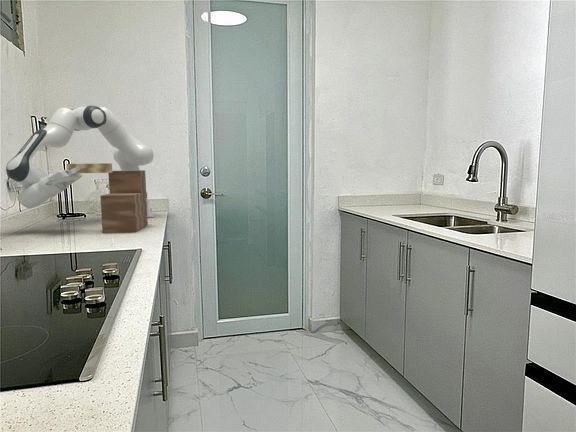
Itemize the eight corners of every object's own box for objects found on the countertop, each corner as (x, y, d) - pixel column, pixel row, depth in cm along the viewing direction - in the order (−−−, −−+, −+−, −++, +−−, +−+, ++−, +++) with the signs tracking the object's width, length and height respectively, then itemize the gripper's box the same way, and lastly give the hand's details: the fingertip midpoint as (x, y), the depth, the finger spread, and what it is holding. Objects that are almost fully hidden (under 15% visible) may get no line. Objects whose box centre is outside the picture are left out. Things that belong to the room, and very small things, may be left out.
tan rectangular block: (67, 173, 202) (66, 163, 202) (69, 173, 205) (69, 163, 205) (110, 172, 204) (109, 163, 203) (112, 172, 207) (111, 163, 206)
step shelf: (117, 225, 225) (114, 170, 222) (147, 225, 226) (145, 170, 223) (102, 233, 202) (99, 171, 199) (136, 232, 203) (133, 171, 200)
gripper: (39, 178, 193) (68, 160, 193) (59, 176, 214) (85, 160, 214) (48, 191, 194) (77, 174, 194) (67, 188, 214) (93, 173, 214)
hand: (81, 167), depth 204 cm, fingers closed on tan rectangular block, 3 cm apart
